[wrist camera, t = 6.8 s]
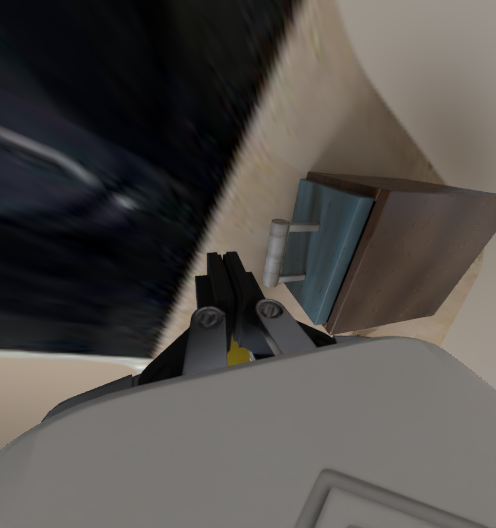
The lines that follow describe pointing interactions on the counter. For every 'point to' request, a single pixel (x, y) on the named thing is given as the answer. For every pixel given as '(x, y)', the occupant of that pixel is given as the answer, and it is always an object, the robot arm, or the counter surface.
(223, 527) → the robot arm
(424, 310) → the cabinet
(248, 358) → the lemon
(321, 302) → the drawer
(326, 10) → the counter surface
